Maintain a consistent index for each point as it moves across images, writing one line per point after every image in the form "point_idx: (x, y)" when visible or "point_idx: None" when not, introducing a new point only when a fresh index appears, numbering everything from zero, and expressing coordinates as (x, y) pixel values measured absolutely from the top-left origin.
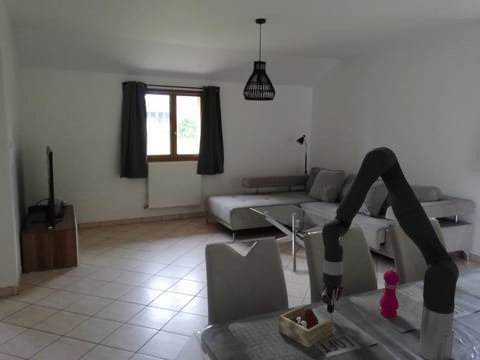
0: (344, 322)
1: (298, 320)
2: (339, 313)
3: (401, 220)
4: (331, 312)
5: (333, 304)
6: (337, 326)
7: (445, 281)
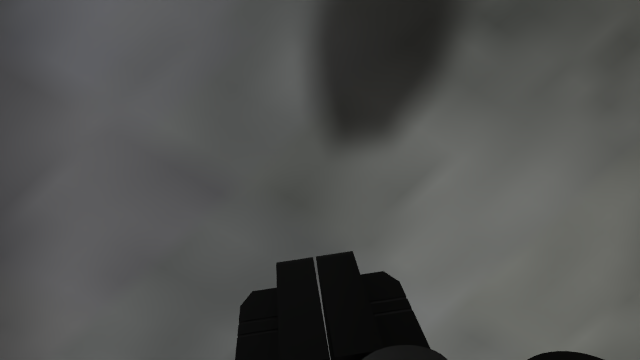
0: (177, 39)
1: None
2: (33, 293)
3: None
4: (352, 260)
5: (321, 355)
6: (386, 12)
7: None
